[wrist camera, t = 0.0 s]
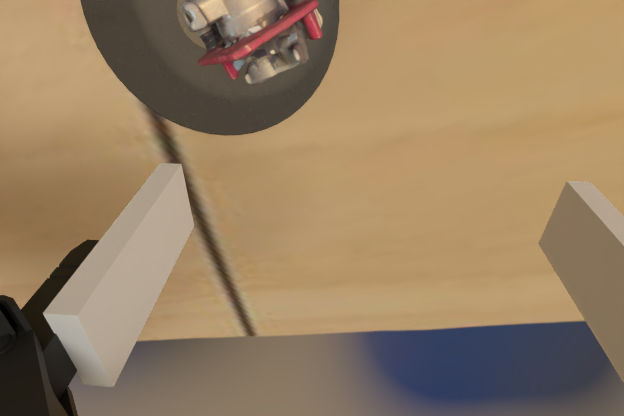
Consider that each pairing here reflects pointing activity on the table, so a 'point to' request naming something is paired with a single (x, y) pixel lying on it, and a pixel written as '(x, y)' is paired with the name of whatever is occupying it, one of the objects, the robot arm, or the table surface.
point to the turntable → (200, 67)
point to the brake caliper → (254, 34)
